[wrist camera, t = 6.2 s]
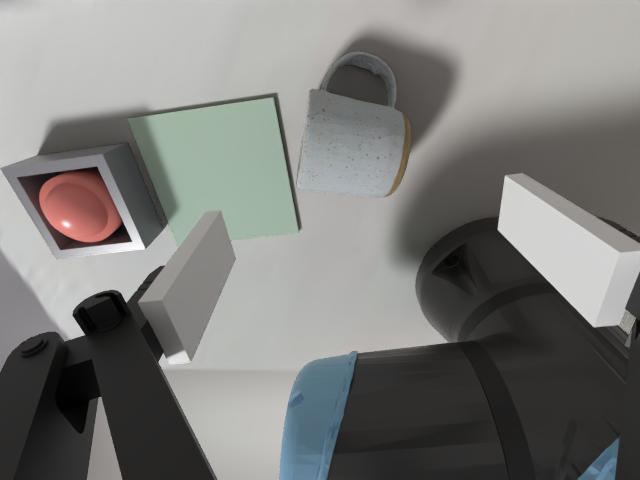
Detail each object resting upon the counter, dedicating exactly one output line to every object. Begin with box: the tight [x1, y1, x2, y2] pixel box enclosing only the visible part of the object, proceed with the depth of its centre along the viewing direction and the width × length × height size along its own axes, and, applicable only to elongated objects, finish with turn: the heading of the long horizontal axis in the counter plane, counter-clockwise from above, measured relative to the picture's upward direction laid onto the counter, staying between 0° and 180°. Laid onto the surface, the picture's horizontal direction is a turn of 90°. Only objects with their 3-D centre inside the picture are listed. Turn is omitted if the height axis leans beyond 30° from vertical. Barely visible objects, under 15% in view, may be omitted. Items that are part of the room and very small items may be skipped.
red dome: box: [39, 167, 124, 242], centre depth 30 cm, size 6×6×5 cm
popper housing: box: [0, 143, 163, 259], centre depth 31 cm, size 9×9×4 cm
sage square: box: [127, 97, 299, 247], centre depth 32 cm, size 13×13×1 cm
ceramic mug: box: [296, 51, 411, 198], centre depth 26 cm, size 11×8×8 cm
